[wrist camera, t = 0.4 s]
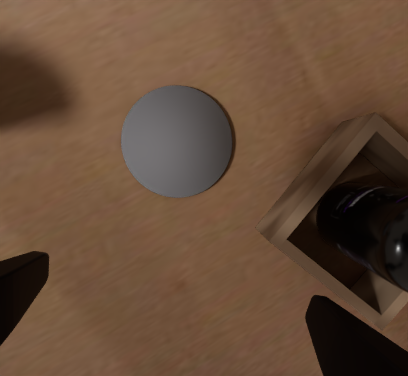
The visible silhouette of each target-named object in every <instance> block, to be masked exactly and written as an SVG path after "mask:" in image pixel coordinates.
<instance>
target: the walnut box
mask: <svg viewBox="0 0 408 376" xmlns="http://www.w3.org/2000/svg"><path fill="white" fill-rule="evenodd" d="M358 152H360V153H361V154H362V155H363V156H365V157H366V158H367V159H368V160H369V161H370V162H371V163H372V164H374V165H375V166H376V167H377V168H378V169H379V170H380V171H381V172H383V173H384V174H385V175H386V176H387V177H388V178H389V179H390V180H391V181H393V182H394V183H395V184H396V185H397V186H398V187H399V188H404V189H408V142H407V141H406V140H405V139H404V138H403V137H402V136H401V135H400V134H399V133H397V132H396V131H395V130H394V129H393V128H392V127H391V126H390V125H389V124H388V123H387V122H386V121H385V120H383V119H382V118H381V117H380V116H379V115H378V114H377V113H372V114H369V115H365V116H362V117H358V118H354V119H351V120H347V121H344V122H342V123H341V124H340V125H339V126H338V128H337V129H336V130H335V131H334V132H333V134H332V135H331V136H330V137H329V139H328V140H327V141H326V142H325V143H324V145H323V146H322V147H321V148H320V150H319V151H318V152H317V153H316V154H315V156H314V157H313V158H312V159H311V160H310V162H309V163H308V164H307V165H306V167H305V168H304V169H303V170H302V171H301V173H300V174H299V175H298V176H297V178H296V179H295V180H294V181H293V182H292V184H291V185H290V186H289V187H288V188H287V190H286V191H285V192H284V193H283V195H282V196H281V197H280V198H279V199H278V201H277V202H276V203H275V204H274V206H273V207H272V208H271V209H270V210H269V212H268V213H267V214H266V215H265V216H264V218H263V219H262V220H261V221H260V223H259V224H258V225H257V226H256V227H255V228H256V229H257V230H258V231H259V232H260V233H261V234H262V235H263V236H264V237H265V238H266V239H267V240H268V241H269V242H270V243H272V244H273V245H274V246H275V247H277V248H278V249H279V250H280V251H282V252H283V253H284V254H285V255H287V256H288V257H289V258H291V259H292V260H293V261H294V262H296V263H297V264H298V265H299V266H301V267H302V268H303V269H304V270H306V271H307V272H308V273H310V274H311V275H312V276H313V277H315V278H316V279H317V280H318V281H320V282H321V283H322V284H324V285H325V286H326V287H327V288H329V289H330V290H331V291H332V292H334V293H335V294H336V295H337V296H339V297H340V298H341V299H343V300H344V301H345V302H346V303H348V304H349V305H350V306H351V307H353V308H354V309H355V310H356V311H358V312H359V313H360V314H362V315H363V316H364V317H365V318H367V319H368V320H369V321H370V322H372V323H373V324H374V325H375V326H377V327H378V328H379V329H381V330H383V329H384V328H385V327H386V326H387V325H388V323H389V322H390V321H391V320H392V319H393V318H394V317H395V316H396V314H397V313H398V312H399V311H400V310H401V309H402V308H403V306H404V305H405V304H406V303H407V302H408V293H407V292H405V291H403V290H401V289H399V288H398V287H396V286H394V285H392V284H391V283H389V282H388V281H386V280H384V279H383V278H381V277H380V276H378V275H376V274H375V273H373V272H372V271H370V270H368V269H367V270H366V272H365V273H364V274H363V275H362V276H361V277H360V278H359V280H358V281H357V282H356V283H355V284H354V285H353V287H352V288H351V289H350V290H349V289H348V288H347V287H345V286H344V285H343V284H342V283H340V282H339V281H338V280H337V279H335V278H334V277H333V276H332V275H330V274H329V273H328V272H327V271H325V270H324V269H323V268H322V267H320V266H319V265H318V264H317V263H315V262H314V261H313V260H312V259H310V258H309V257H308V256H307V255H305V254H304V253H303V252H302V251H300V250H299V249H298V248H297V247H295V246H294V245H293V244H292V243H290V242H289V241H288V240H286V239H287V238H288V237H289V235H290V234H291V233H292V232H293V231H294V229H295V228H296V227H297V226H298V225H299V223H300V222H301V221H302V220H303V219H304V217H305V216H306V215H307V214H308V213H309V211H310V210H311V209H312V208H313V207H314V205H315V204H316V203H317V202H318V201H319V199H320V198H321V197H322V196H323V195H324V193H325V192H326V191H327V190H328V188H329V187H330V186H331V185H332V184H333V182H334V181H335V180H336V179H337V178H338V176H339V175H340V174H341V173H342V172H343V170H344V169H345V168H346V167H347V166H348V164H349V163H350V162H351V161H352V160H353V158H354V157H355V156H356V155H357V154H358Z"/></svg>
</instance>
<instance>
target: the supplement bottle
mask: <svg viewBox="0 0 408 376" xmlns="http://www.w3.org/2000/svg"><path fill="white" fill-rule="evenodd" d="M316 224H317V228H318V231H319V233H320V235H321V237H322V238H323V239H324V240H325V242H327V243H328V244H329V245H330V246H332V247H333V248H335V249H336V250H338V251H339V252H341V253H343V254H344V255H346V256H347V257H349V258H351V259H352V260H354V261H355V262H357V263H359V264H360V265H362V266H363V267H365V268H367V269H368V270H370V271H372V272H373V273H375V274H376V275H378V276H380V277H381V278H383V279H384V280H386V281H388V282H389V283H391V284H392V285H394V286H396V287H398V288H399V289H401V290H403V291H405V292H407V293H408V189H404V188H396V187H388V186H380V185H373V184H365V183H346V184H342V185H339V186H337V187H335V188H333V189H332V190H331V191H329V192H328V193H327V194H326V195H325V196H324V198H323V199H322V200H321V202H320V204H319V206H318V209H317V214H316Z"/></svg>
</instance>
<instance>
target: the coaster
mask: <svg viewBox="0 0 408 376" xmlns="http://www.w3.org/2000/svg"><path fill="white" fill-rule="evenodd" d="M121 147H122V153H123V156H124V160H125V162H126V164H127V167H128V168H129V170H130V172H131V173H132V175H133V176H134V177H135V178H136V180H137V181H139V182H140V183H141V184H142V185H143V186H144V187H146V188H147V189H149V190H151V191H152V192H154V193H157V194H159V195H163V196H167V197H174V198H178V197H189V196H192V195H196V194H198V193H200V192H203V191H204V190H206V189H208V188H209V187H210V186H212V185H213V184H214V183H215V182H216V181H217V180H218V179H219V178H220V176H221V175H222V174H223V172H224V171H225V169H226V167H227V165H228V162H229V159H230V156H231V150H232V135H231V129H230V125H229V123H228V120H227V118H226V116H225V114H224V112H223V111H222V109H221V108H220V107H219V105H218V104H217V103H216V102H215V101H214V100H213V99H211V98H210V97H209V96H208V95H206V94H204V93H203V92H201V91H199V90H196V89H194V88H190V87H186V86H165V87H161V88H158V89H155V90H153V91H151V92H149V93H147V94H146V95H144V96H143V97H142V98H140V99H139V100H138V101H137V102H136V103H135V104H134V106H133V107H132V108H131V110H130V111H129V113H128V115H127V117H126V119H125V122H124V124H123V129H122V135H121Z"/></svg>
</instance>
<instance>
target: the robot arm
mask: <svg viewBox="0 0 408 376" xmlns="http://www.w3.org/2000/svg"><path fill="white" fill-rule="evenodd" d="M48 274H49V255H48V254H47V253H45V252H38V251H32V252H29V253H26V254H22V255H19V256H16V257H12V258H9V259H6V260H3V261H0V346H1V344H2V343H3V342H4V341H5V340H6V338H7V337H8V336H9V335H10V333H11V332H12V331H13V329H14V328H15V327H16V325H17V324H18V323H19V321H20V320H21V318H22V317H23V315H24V314H25V312H26V311H27V309H28V308H29V307H30V305H31V304H32V302H33V301H34V299H35V298H36V296H37V295H38V293H39V292H40V290H41V289H42V288H43V286H44V285H45V283H46V281H47V279H48ZM305 319H306V323H307V327H308V330H309V333H310V336H311V339H312V343H313V346H314V349H315V352H316V355H317V359H318V362H319V365H320V368H321V370H322V373H323V376H408V352H407V351H406V350H404V349H403V348H401V347H400V346H398V345H397V344H395V343H394V342H392V341H391V340H389V339H388V338H386V337H385V336H383V335H382V334H380V333H379V332H378V331H376V330H375V329H373V328H372V327H370V326H369V325H367V324H366V323H364V322H363V321H361V320H360V319H358V318H357V317H355V316H354V315H352V314H351V313H350V312H348V311H347V310H345V309H344V308H342V307H341V306H339V305H338V304H336V303H335V302H333V301H332V300H330V299H329V298H327V297H325V296H320V295H314V296H313V297H312V298H311V301H310V303H309V306H308V309H307V312H306V316H305Z"/></svg>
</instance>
